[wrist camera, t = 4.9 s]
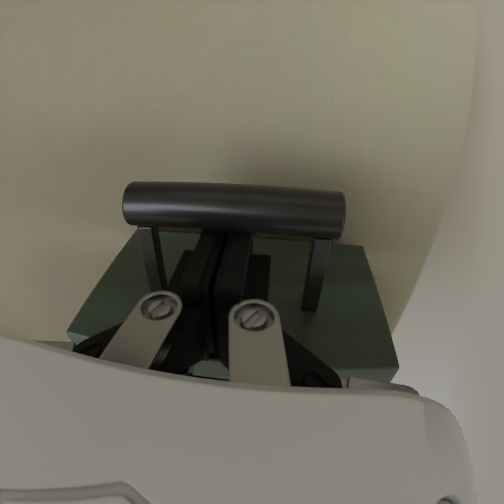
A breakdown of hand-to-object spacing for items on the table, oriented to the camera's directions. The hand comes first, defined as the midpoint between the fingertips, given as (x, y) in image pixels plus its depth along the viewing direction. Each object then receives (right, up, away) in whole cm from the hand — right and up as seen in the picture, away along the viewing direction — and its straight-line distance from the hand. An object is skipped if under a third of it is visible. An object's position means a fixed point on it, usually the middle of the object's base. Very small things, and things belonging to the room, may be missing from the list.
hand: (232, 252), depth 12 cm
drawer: (0, -3, +7) cm, 7 cm away
